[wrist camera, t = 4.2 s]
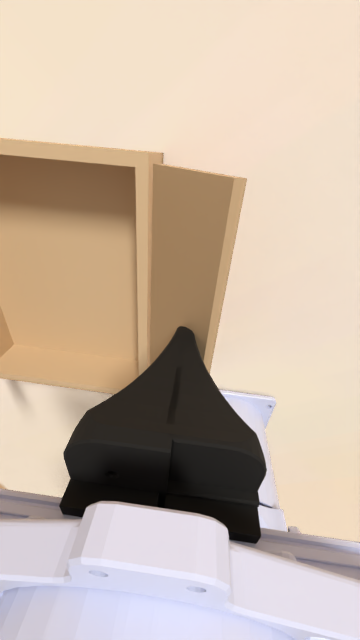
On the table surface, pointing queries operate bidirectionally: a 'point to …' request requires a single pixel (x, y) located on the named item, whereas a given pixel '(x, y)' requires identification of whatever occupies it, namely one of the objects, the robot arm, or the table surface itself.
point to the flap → (191, 253)
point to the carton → (75, 264)
